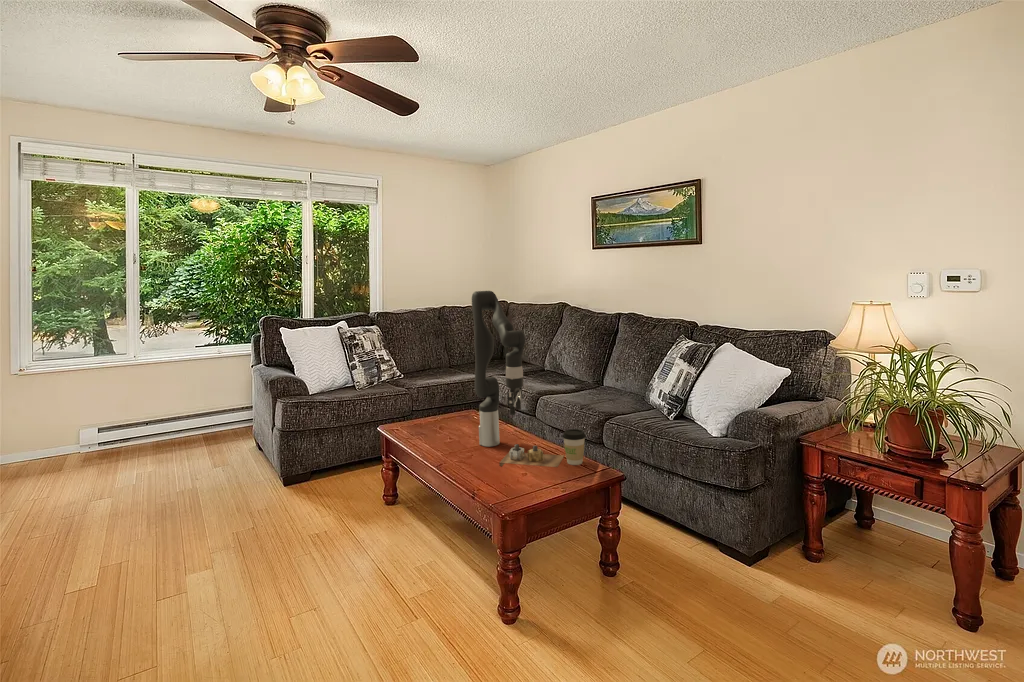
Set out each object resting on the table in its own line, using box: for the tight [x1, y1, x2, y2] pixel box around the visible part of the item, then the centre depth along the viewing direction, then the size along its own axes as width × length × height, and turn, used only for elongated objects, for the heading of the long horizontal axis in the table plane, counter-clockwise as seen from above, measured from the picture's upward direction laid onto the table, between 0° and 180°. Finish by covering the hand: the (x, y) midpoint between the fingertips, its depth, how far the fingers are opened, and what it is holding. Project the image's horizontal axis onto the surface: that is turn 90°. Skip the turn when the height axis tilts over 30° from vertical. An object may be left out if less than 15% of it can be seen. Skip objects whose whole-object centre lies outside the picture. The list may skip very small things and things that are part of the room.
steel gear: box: [509, 446, 525, 460], centre depth 235 cm, size 6×6×4 cm
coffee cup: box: [562, 428, 587, 466], centre depth 227 cm, size 10×10×15 cm
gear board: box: [499, 443, 565, 468], centre depth 233 cm, size 26×14×8 cm, turn 72°
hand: (515, 412), depth 233 cm, fingers open, 8 cm apart
